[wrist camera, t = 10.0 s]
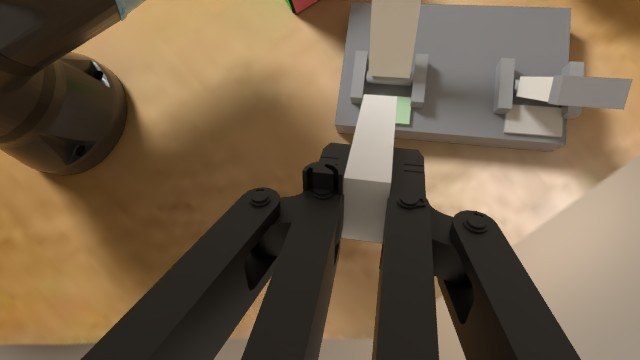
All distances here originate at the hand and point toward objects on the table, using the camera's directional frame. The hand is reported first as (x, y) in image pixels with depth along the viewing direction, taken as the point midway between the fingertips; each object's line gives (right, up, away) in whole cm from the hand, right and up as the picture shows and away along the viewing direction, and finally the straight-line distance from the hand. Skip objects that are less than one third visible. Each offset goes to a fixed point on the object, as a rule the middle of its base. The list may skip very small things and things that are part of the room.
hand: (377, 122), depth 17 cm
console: (+11, +8, +23) cm, 27 cm away
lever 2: (+18, +6, +17) cm, 26 cm away
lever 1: (+4, +8, +20) cm, 22 cm away
